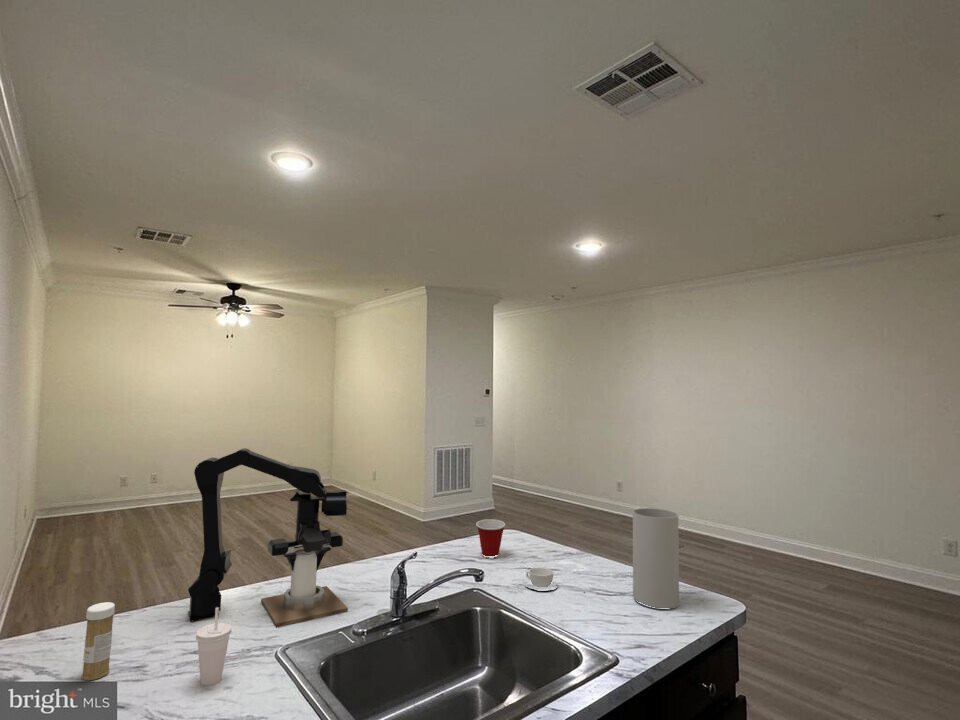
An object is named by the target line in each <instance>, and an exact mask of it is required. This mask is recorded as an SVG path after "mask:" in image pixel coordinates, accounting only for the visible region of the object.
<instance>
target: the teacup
mask: <svg viewBox="0 0 960 720" xmlns="http://www.w3.org/2000/svg"><path fill="white" fill-rule="evenodd" d="M525 575H526V578H527V579H528V581H530V580H531V582H532V584H533V585H534V586H537V587H548V586H549V585H550V584H551V582H553V579H554V578H553V577H554V571H553V570H552V569H551V568H548V567H547V568H546V567H537V566H536V567H532V568H530V569H529V570H528V571H526V573H525Z"/></svg>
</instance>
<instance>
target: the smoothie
mask: <svg viewBox="0 0 960 720" xmlns="http://www.w3.org/2000/svg"><path fill="white" fill-rule="evenodd" d="M218 611H219V608H218V607H217V608H216V610H215V617H214V623H211V624H207V625H204V626H202V627H200V628H199V629H198V630H197V631H196V632H195V633H196V635H195V640H196V641H197V648H198V651H197V652H198V665H199V666H198V667H199V676H200V677H199V679H200V684H201V685H203V686H212V685H215V684H217V683H219V682H220V681H222V677H223V672H224V666H225V662H226V657H227V651H228V645H229V640H230V635H231V634H232V632H233V631H232V627H233V626H232V625H231V624H229V623H226V622H219V616H218ZM219 612H220V611H219Z"/></svg>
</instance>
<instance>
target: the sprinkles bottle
mask: <svg viewBox="0 0 960 720" xmlns="http://www.w3.org/2000/svg"><path fill="white" fill-rule="evenodd" d="M115 605H116V604H115V603H114V602H111V601H107V602H106V601H105V602H100V603H96V604H92V605H90V606H89V607H88V608H87V610H86V614H85V615H86V631H85V639H84V651H83V664H82V674H81V679H82V680H84V681H94V680H98V679H100V678H103V677H105V676H107V675H108V674H109V673H110V660H111V658H110V657H111V651H112V641H113V640H112V639H113V624H114V623H113V622H114V616H115V611H116V606H115Z"/></svg>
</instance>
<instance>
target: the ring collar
mask: <svg viewBox="0 0 960 720" xmlns="http://www.w3.org/2000/svg"><path fill="white" fill-rule="evenodd" d="M322 587H323V586H321V585H317V584H316V594H315V595H313V596H309V597H292V596H290V590H291V587H290V588H288V589H286V590H285V592H284V593H283V594H284V600H283V606H284V607H285V609H288V610H292V611H305V610H310V609H314V608H316V607H318V606H320V605H322V603H323V601H324V589H323V588H322Z"/></svg>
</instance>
